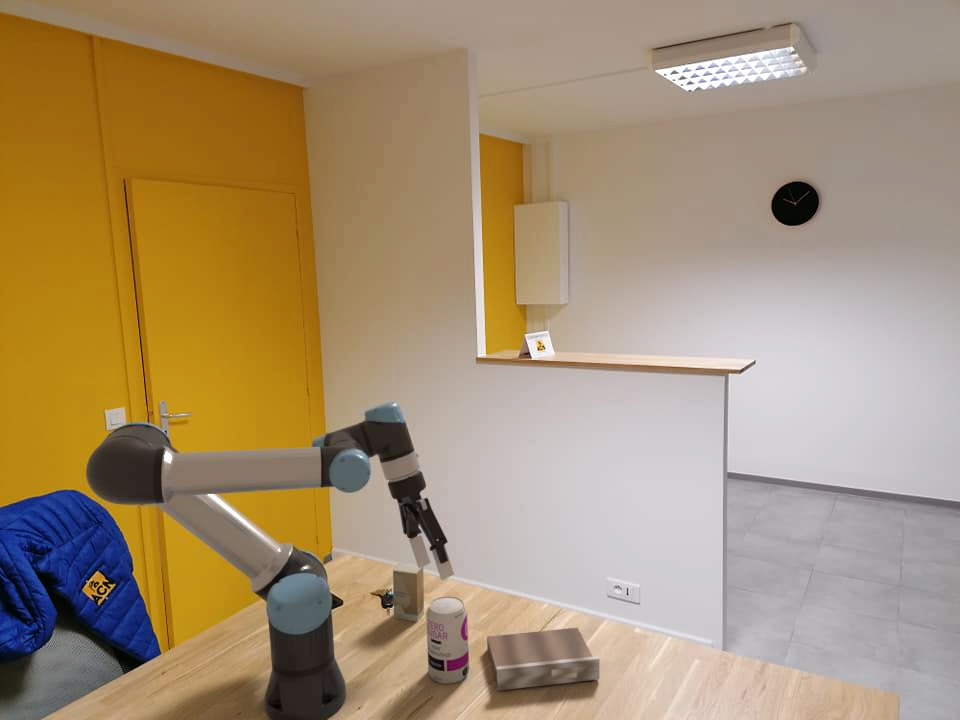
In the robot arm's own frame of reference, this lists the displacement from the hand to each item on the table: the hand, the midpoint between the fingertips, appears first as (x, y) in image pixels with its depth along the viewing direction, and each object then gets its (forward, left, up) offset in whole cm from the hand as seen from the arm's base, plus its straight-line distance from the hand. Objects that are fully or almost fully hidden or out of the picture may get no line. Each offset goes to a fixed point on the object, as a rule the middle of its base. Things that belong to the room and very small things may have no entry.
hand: (435, 571), depth 146 cm
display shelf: (+21, -8, -19) cm, 29 cm away
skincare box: (-5, +16, -19) cm, 26 cm away
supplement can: (+2, -8, -19) cm, 20 cm away
